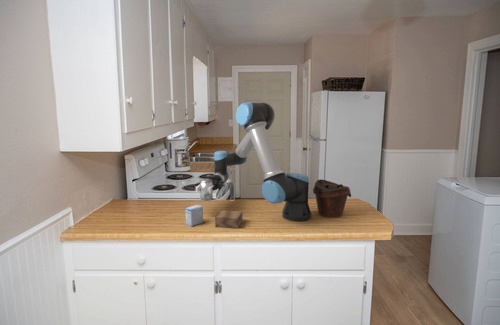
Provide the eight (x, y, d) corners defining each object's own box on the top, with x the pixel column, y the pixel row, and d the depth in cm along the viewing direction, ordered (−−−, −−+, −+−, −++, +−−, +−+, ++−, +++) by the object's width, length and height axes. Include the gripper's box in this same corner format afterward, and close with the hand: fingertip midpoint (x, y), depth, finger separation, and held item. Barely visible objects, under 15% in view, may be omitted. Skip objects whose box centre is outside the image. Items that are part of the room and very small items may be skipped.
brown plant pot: (351, 220, 176) (353, 186, 173) (311, 218, 180) (312, 184, 177) (348, 210, 193) (350, 179, 191) (312, 208, 197) (313, 178, 195)
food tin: (214, 197, 183) (214, 179, 181) (210, 201, 176) (210, 182, 175) (202, 197, 184) (202, 178, 183) (198, 200, 178) (197, 181, 176)
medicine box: (197, 220, 176) (197, 204, 175) (203, 222, 173) (203, 206, 172) (185, 224, 170) (184, 208, 169) (191, 227, 167) (190, 209, 166)
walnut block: (242, 221, 176) (242, 211, 175) (237, 228, 165) (237, 218, 164) (221, 219, 178) (221, 210, 177) (215, 227, 167) (215, 217, 166)
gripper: (232, 187, 195) (221, 198, 173) (200, 186, 199) (185, 196, 177) (232, 174, 194) (221, 183, 172) (199, 173, 198) (184, 182, 176)
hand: (203, 190), depth 174 cm, fingers closed on food tin, 6 cm apart
